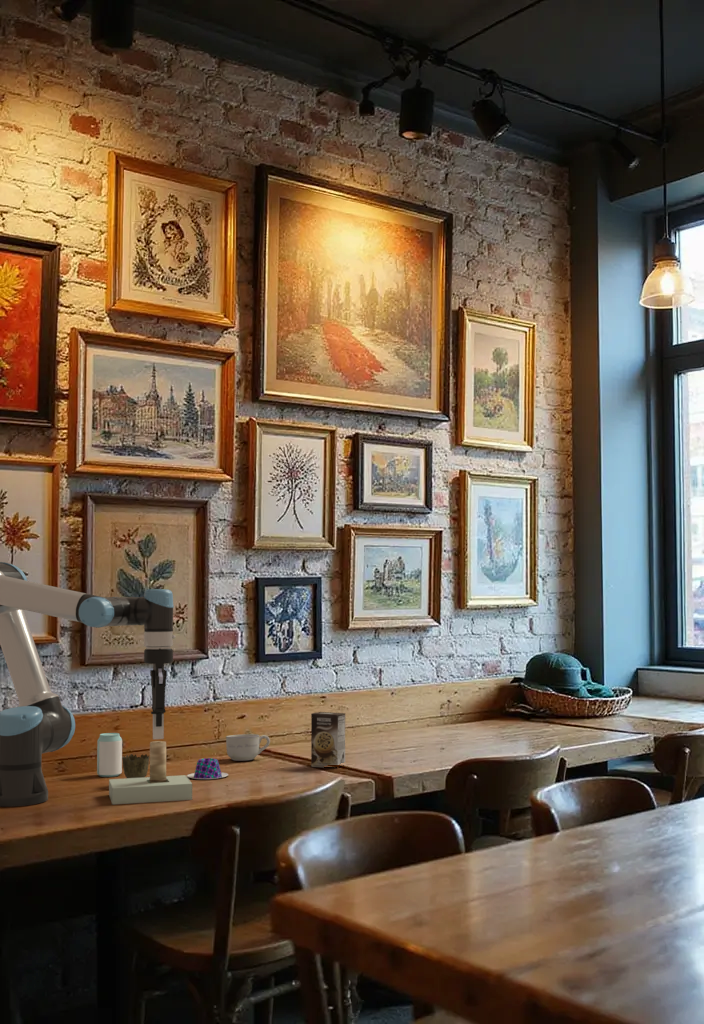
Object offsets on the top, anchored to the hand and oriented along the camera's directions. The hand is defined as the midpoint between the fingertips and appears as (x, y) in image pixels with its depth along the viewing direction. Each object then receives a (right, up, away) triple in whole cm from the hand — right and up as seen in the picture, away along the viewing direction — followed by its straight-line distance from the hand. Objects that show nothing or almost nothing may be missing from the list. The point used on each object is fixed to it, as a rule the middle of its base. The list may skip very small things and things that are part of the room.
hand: (158, 738), depth 277 cm
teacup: (+17, -20, +61) cm, 66 cm away
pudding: (+9, -18, +29) cm, 35 cm away
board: (-2, -15, -2) cm, 15 cm away
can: (-20, -18, +33) cm, 43 cm away
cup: (-9, -17, +17) cm, 25 cm away
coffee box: (+43, -19, +47) cm, 66 cm away
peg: (0, -15, -1) cm, 15 cm away
